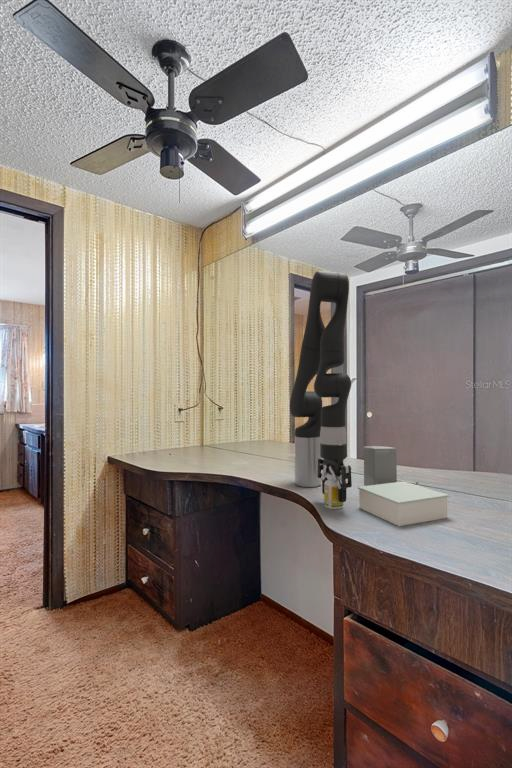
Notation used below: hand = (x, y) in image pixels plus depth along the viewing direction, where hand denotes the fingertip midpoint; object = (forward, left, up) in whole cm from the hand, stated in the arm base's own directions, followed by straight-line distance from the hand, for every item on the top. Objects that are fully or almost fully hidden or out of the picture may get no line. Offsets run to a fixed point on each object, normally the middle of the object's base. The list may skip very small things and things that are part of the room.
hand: (333, 497), depth 114 cm
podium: (+12, +14, -3) cm, 19 cm away
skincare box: (-3, +19, -3) cm, 19 cm away
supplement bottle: (0, 0, -3) cm, 3 cm away
